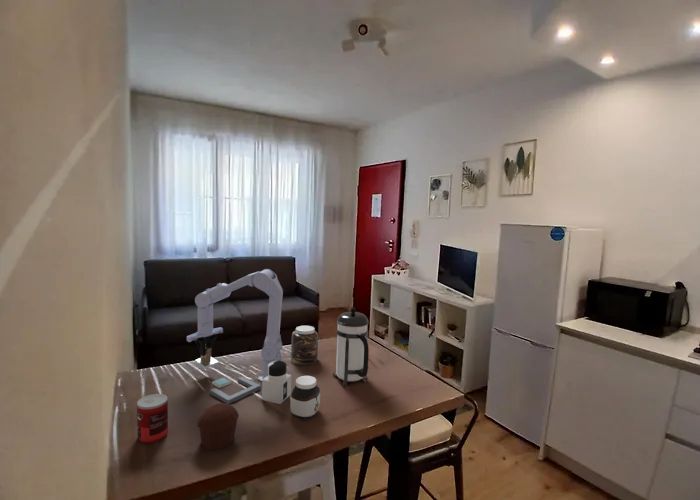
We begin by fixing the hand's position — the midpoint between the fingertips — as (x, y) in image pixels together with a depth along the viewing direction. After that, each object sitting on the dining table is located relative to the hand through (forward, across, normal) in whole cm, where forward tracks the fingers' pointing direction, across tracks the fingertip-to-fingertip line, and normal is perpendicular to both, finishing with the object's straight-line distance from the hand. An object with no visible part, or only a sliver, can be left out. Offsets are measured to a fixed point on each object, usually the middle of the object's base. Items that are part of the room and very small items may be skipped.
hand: (205, 354), depth 141 cm
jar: (+9, -37, +20) cm, 43 cm away
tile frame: (+9, 0, +19) cm, 21 cm away
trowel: (+3, 0, +1) cm, 3 cm away
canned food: (+9, +31, +24) cm, 40 cm away
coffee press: (+9, -36, +48) cm, 60 cm away
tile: (+9, 0, +11) cm, 14 cm away
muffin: (+9, +20, +40) cm, 45 cm away
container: (+9, -7, +34) cm, 36 cm away
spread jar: (+9, -7, +48) cm, 49 cm away
